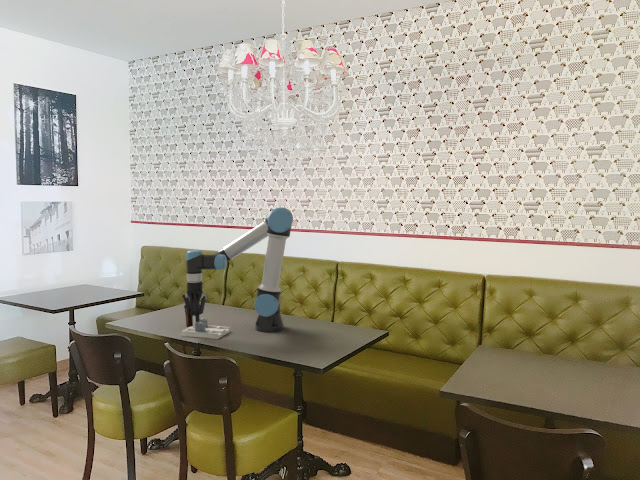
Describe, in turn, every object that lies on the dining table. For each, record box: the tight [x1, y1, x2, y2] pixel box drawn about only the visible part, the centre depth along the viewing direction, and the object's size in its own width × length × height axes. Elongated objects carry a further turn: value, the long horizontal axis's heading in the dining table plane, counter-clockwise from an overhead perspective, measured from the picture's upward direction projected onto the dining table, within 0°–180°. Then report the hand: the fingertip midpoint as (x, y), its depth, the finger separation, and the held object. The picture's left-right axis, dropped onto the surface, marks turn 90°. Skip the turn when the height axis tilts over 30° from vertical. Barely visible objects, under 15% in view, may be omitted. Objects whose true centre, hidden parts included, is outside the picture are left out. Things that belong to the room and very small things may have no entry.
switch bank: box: [180, 324, 231, 340], centre depth 253 cm, size 20×14×3 cm
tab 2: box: [195, 322, 205, 332], centre depth 249 cm, size 4×3×5 cm
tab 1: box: [198, 317, 208, 328], centre depth 257 cm, size 4×3×5 cm
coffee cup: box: [183, 304, 193, 328], centre depth 266 cm, size 9×8×13 cm
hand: (195, 327), depth 250 cm, fingers closed
